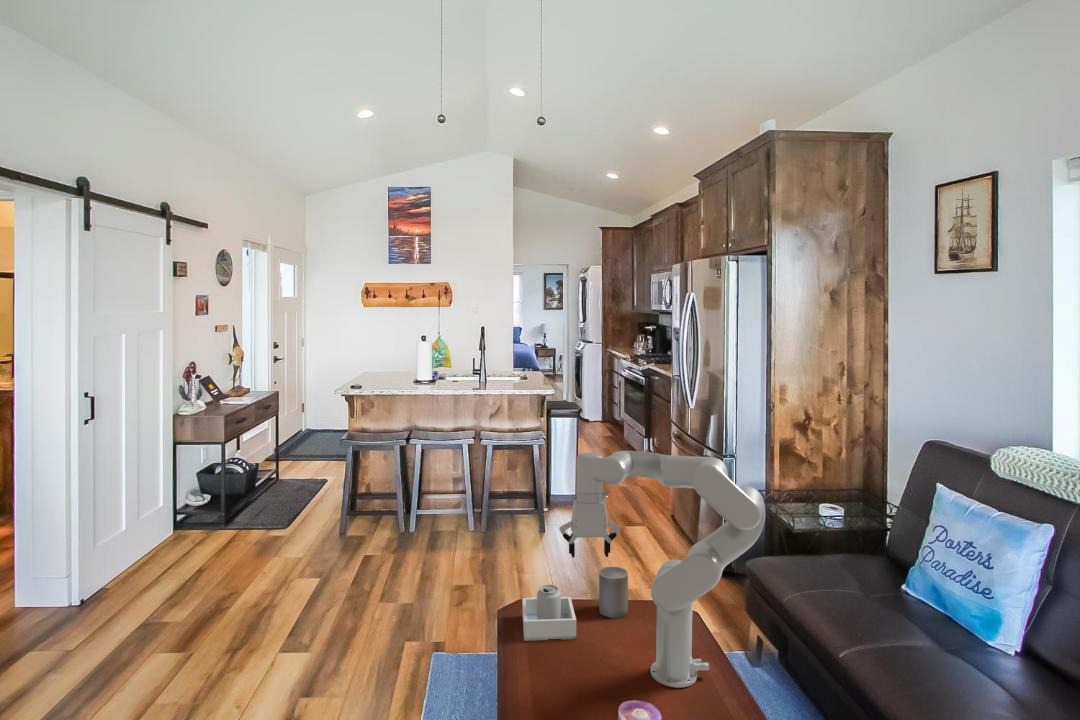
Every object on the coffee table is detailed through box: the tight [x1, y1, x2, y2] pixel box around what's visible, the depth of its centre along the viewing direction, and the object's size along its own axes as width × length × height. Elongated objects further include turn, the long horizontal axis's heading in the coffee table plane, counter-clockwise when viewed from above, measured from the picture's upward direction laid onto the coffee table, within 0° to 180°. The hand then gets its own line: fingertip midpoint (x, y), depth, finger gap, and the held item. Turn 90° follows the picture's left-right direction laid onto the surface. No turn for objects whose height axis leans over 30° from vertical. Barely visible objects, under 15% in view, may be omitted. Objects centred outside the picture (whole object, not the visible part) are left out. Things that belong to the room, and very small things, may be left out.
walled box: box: [521, 596, 577, 642], centre depth 197 cm, size 16×16×6 cm
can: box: [536, 584, 562, 620], centre depth 196 cm, size 8×8×12 cm
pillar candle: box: [598, 566, 629, 619], centre depth 207 cm, size 10×10×15 cm
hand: (589, 555), depth 177 cm, fingers open, 9 cm apart
